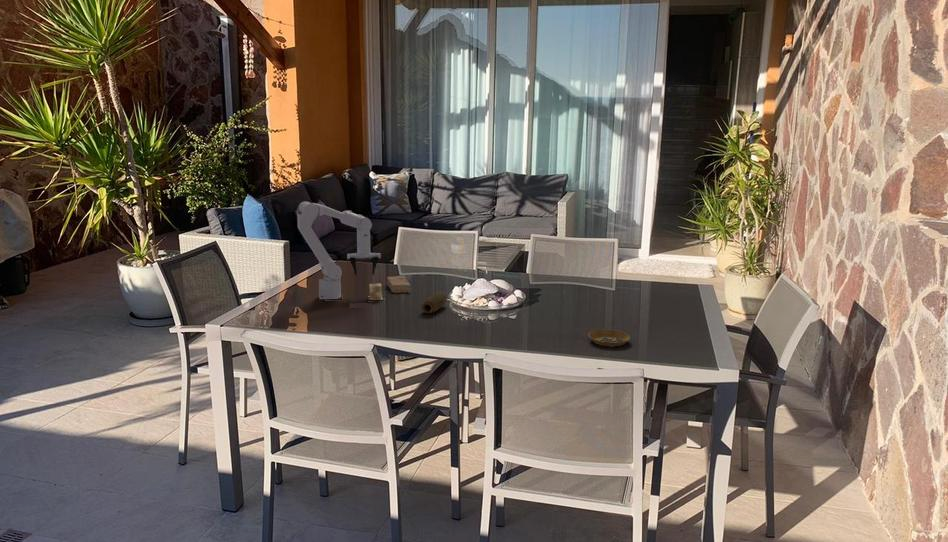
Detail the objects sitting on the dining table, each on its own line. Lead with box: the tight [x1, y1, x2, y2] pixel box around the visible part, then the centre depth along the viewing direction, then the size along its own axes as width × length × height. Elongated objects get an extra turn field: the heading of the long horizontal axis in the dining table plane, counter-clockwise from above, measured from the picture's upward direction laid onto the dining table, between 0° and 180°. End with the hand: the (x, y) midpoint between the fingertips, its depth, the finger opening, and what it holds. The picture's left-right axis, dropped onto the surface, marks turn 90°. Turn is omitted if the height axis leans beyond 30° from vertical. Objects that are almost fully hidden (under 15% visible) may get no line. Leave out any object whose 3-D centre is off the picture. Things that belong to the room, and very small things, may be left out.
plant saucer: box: [588, 329, 631, 348], centre depth 265 cm, size 15×15×3 cm
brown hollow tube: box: [420, 291, 447, 314], centre depth 303 cm, size 15×7×7 cm, turn 165°
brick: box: [386, 275, 411, 294], centre depth 337 cm, size 17×8×5 cm, turn 16°
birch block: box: [368, 283, 383, 300], centre depth 318 cm, size 5×5×6 cm
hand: (364, 274), depth 324 cm, fingers open, 7 cm apart
